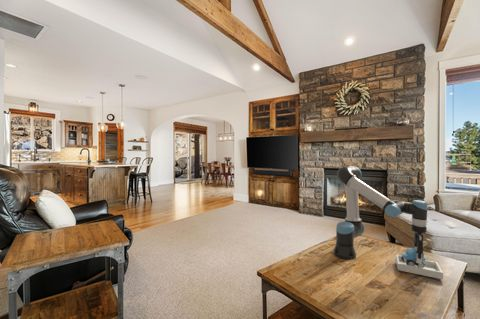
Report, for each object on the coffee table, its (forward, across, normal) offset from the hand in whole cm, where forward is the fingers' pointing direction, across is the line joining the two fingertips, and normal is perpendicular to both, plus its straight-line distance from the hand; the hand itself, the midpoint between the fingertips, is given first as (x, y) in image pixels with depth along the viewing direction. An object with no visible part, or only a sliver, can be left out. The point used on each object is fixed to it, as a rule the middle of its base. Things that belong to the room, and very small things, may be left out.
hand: (417, 259), depth 150 cm
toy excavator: (+4, 0, 0) cm, 4 cm away
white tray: (+7, 0, 0) cm, 7 cm away
